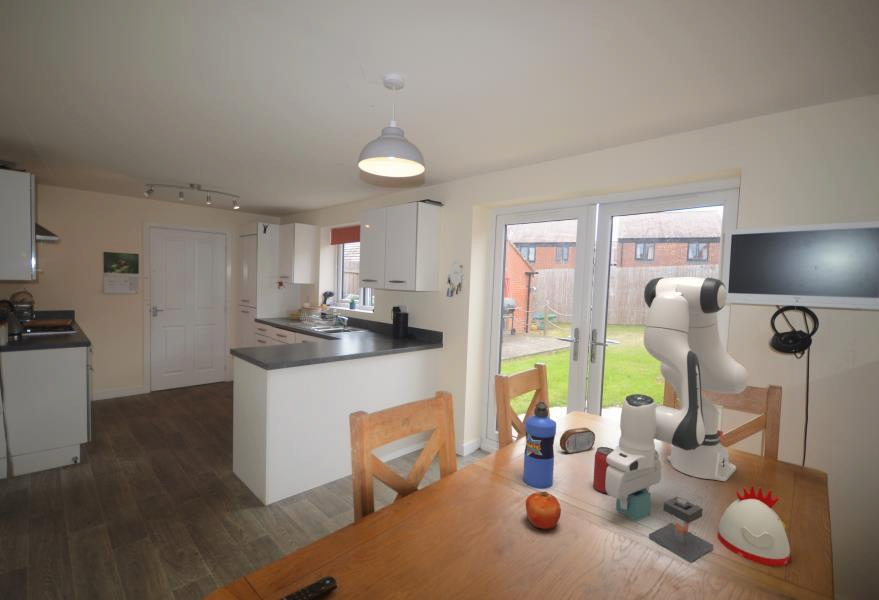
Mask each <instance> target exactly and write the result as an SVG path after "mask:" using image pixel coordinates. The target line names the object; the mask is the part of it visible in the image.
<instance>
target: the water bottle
mask: <svg viewBox="0 0 879 600" xmlns="http://www.w3.org/2000/svg"><path fill="white" fill-rule="evenodd" d="M534 406H535V407H534V410H533V411H534V413H533V414H534V415H533V416H529V417H526V418H525V423H524V431H525V449H524V454H523V455H524V456H523V457H524V458H523V474H522V481H523V482H524V484H525V485H527V486H529V487H531V488H535V489H540V490H541V489H549V488H551V487H552V486H553V484H554V468H555V467H554V466H555V453H554V443H555V438H556V434H557V422H556V421H555V420H553V419H552V418H550V417H549V409H548V407H549V406H548V405H547V403H545V402H544V401H539V402H537V403H536V404H535V405H534Z"/></svg>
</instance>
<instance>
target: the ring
mask: <svg viewBox="0 0 879 600" xmlns="http://www.w3.org/2000/svg"><path fill="white" fill-rule="evenodd" d="M679 497H680V496H675V497H673V498H671V499H669V500H667V501H664V502H663V507H662V508H663V509H662V511H663V512H666V513H667V514H669V515H671V516H673V517H675V518H676V517H677V518H679V519H681V520H683V521H685V522H687V523H688V524H690V523H693V522H694V521H697V520H698V519H701V518H702V517H703V509H704V508H703V507H701V506H698V505H696V504H695V503H692V502H690V507H689V509H687V510H685V509H683V508H681V507H678V506H676V505H677V498H679Z"/></svg>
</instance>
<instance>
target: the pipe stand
mask: <svg viewBox="0 0 879 600" xmlns="http://www.w3.org/2000/svg"><path fill="white" fill-rule="evenodd" d="M678 497H679V498H677V505H676V506H678V507H681V508H683V509H685V510H687V509H689V507H690V503H691V500H690V499H688V498H686V497H683V496H678ZM674 521H675V523H673V522H670V523H668V524H666V525H664V526H662V527H661V528H658V529H657V530H654V531H652V532H651V533H649V534H648V538H649V540H651V541H653V542H655V543H657V544H658V545H659V546H661V547H664V548H665V549H666V550H668V551H670V552H672V553H673V554H674V555H677V556H679V557H681V558H682V559H683V560H686V561H687V562H689V563H692V562H695V561H696V560H697V559H700V558H701V557H702V556H704V555H706V554H707V553H709V552H711V551H712V550H713V549H714V544H712V543H711V542H709V541H707V540H705V539H703V538H701V537H699V536H697V535H695V534H694V533H691V532H690V531H689V523H687V522H685V521H683V520H681V519H679V518H677V517H675V520H674Z"/></svg>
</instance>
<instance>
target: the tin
mask: <svg viewBox="0 0 879 600" xmlns="http://www.w3.org/2000/svg"><path fill="white" fill-rule="evenodd" d="M595 441H596V434H595V433H594V431H593V430H591V429H589V428H588V427H578V428H571V429H567V430H565V431H564V432H563V433H562V435H561V436H560V439H559V447H560V448H561V450H562V451H564V452H566V453H568V454H575V453H577V454H578V453H583V452H588V451H589V450H591V449H592V448H593V446H594V445H595Z"/></svg>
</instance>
